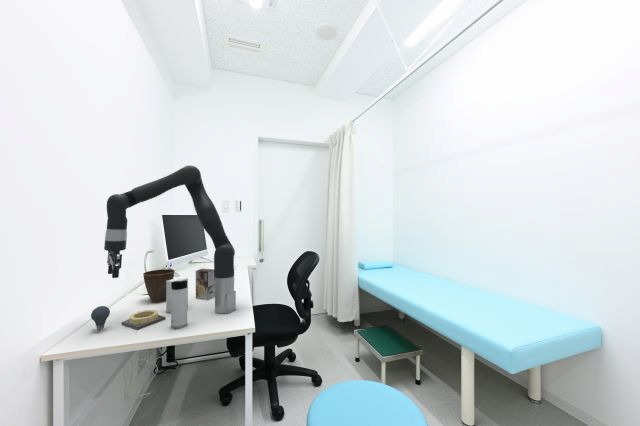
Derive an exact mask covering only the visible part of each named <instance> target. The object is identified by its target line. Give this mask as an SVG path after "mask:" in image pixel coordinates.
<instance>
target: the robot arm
mask: <svg viewBox="0 0 640 426" xmlns="http://www.w3.org/2000/svg"><path fill="white" fill-rule="evenodd" d="M181 186H185V188H186V190H187V191H188V193H189V195H190V197H191V199H192V203H193V207H194V210H195V214H196V216H197V218H198V220H199V222H200V224H201V226H202V227H203V229H204V231H205V232H206V234H207V235H208V237H210V239H211V241H212V243H213V246H214V249H215V251H214V253H213V254H214V255H213V269H214V272H215V297H214V312H215V313H216V314H225V315H227V314H229V313H230V312H234V311H235V310H236V309H237V308H236V307H237V305H236V304H237V303H236V300H237V299H236V298H237V297H236V296H237V294H236V290H235V265H234V264H235V263H234V262H235V254H236V251H235V248H234V246H233V244H232V243H231V241H230V239H229V237H228V235H227V233H226V232H225V228H224V225H223V223H222V221H221V218H220V215H219V212H218V210H217V209H216V206H215V204H214V203H213V201H212V199H211V198H210V196H209V194H208V193H207V191H206V188H205V186H204V182H203V180H202V174H201V170H200V169H199V168H198V167H197V166H195V165H189V164H188V165H185V166H183V167H181V168H180V169H178V170H176V171H174V172H172V173H171V174H168V175H166V176H163V177H162V178H158V179H156V180H153V181H151V182H148V183H144V184H142V185H139V186H137V187H134V188H132V189H131V190H129V191H126V192H123V193H120V194H119V193H116V194H112V195H110V196H109V197H108V198H107V201H106V215H107V216H106V217H107V222H106V231H105V235H104V246H103V247H104V248H103V249H104V251H107V258H106V259H107V261H106V263H107V267H108V268H107V274H108V275H111V278H112V279H119V276H120V270H121V268H122V262H123V261H122V260H123V254H121V253H120V252H121V251H125V250H126V249H127V241H128V240H127V238H128V231H127V230H128V218H127V209H130V208H132V207H134V206H135V205H138V204H140V203H144V202H146V201H149V200H152V199H155V198H157V197H159V196H161V195H163V194H164V193H167V192H168V191H170V190H172V189H175V188H178V187H181Z"/></svg>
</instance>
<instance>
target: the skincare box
mask: <svg viewBox="0 0 640 426" xmlns="http://www.w3.org/2000/svg"><path fill="white" fill-rule="evenodd" d="M184 280H186V281H187V287H188V288H187V289H188V290H189V277H175V278H173V279H171V280H168V281H166V300H165V307H166V308H165V312H166V313H170V314H171V282H173V281H184ZM188 298H189V293H188V294H187V309H188V306H189V305H188V304H189V299H188Z"/></svg>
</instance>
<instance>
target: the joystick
mask: <svg viewBox="0 0 640 426" xmlns="http://www.w3.org/2000/svg"><path fill="white" fill-rule="evenodd" d="M163 321H166V316H164V315H162V314H161V315H160V314H159V311H158V310H155V309H147V310H141V311H137V312H134V313H133V314H131V315H129V319H126V320H122V321H121V323H120V324H121V326H124V327H126V328H130V329H132V330H133V329H134V330H136V331H139V330H141V329H144V328H147V327H149V326H152V325H156V324H158V323H160V322H163Z"/></svg>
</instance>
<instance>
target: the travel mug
mask: <svg viewBox="0 0 640 426" xmlns="http://www.w3.org/2000/svg"><path fill="white" fill-rule="evenodd" d="M187 288H188V289H187ZM187 294H188V295H189V286H188V287H187V281H186V280H184V281H173V282H171V313H170V328H171V329H173V330H179V329H182V328H184V327H186V326H187V325H188V308H187Z"/></svg>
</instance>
